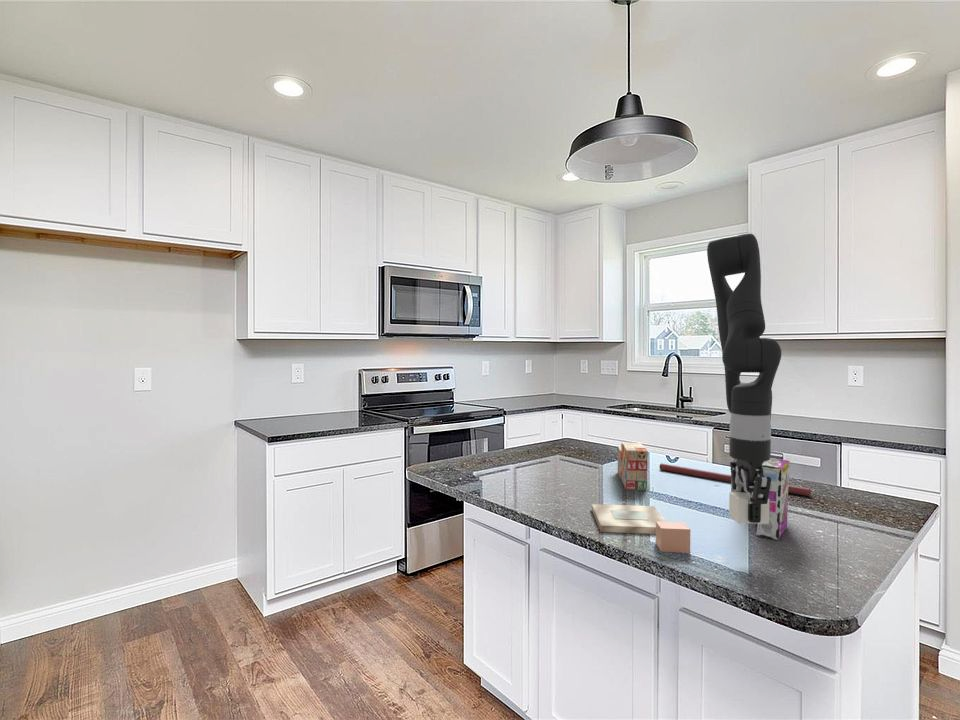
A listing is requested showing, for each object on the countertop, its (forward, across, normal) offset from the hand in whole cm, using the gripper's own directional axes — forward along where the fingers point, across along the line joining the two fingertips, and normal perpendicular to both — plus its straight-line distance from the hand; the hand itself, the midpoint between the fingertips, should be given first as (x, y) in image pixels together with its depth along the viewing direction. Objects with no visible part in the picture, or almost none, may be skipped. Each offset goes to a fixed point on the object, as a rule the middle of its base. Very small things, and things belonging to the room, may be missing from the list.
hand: (748, 517), depth 106 cm
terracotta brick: (+8, +3, +14) cm, 17 cm away
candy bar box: (+8, +15, -12) cm, 21 cm away
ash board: (+8, +19, +20) cm, 29 cm away
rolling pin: (+10, +59, -19) cm, 63 cm away
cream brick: (0, 0, 0) cm, 0 cm away
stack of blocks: (+9, +58, +12) cm, 60 cm away
